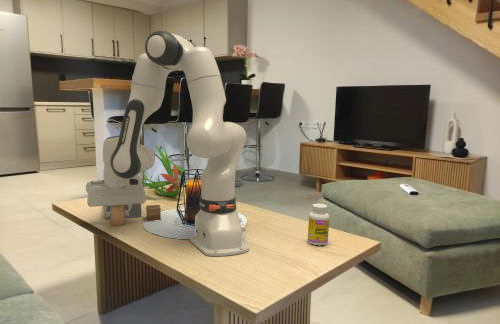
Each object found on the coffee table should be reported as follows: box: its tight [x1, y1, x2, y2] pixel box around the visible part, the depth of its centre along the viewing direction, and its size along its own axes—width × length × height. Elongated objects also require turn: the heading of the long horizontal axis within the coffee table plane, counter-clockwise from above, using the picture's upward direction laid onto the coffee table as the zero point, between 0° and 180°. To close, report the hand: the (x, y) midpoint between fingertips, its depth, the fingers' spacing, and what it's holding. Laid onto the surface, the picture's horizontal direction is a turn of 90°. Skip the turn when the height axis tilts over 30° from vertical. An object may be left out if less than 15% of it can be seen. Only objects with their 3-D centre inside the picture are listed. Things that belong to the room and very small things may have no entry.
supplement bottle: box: [307, 203, 330, 246], centre depth 121 cm, size 7×7×13 cm
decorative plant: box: [141, 144, 185, 198], centre depth 180 cm, size 26×25×30 cm
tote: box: [104, 204, 142, 221], centre depth 151 cm, size 17×13×6 cm
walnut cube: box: [145, 204, 162, 222], centre depth 143 cm, size 5×5×5 cm
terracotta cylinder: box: [110, 205, 126, 227], centre depth 136 cm, size 5×5×7 cm
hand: (117, 216), depth 136 cm, fingers closed on terracotta cylinder, 5 cm apart
